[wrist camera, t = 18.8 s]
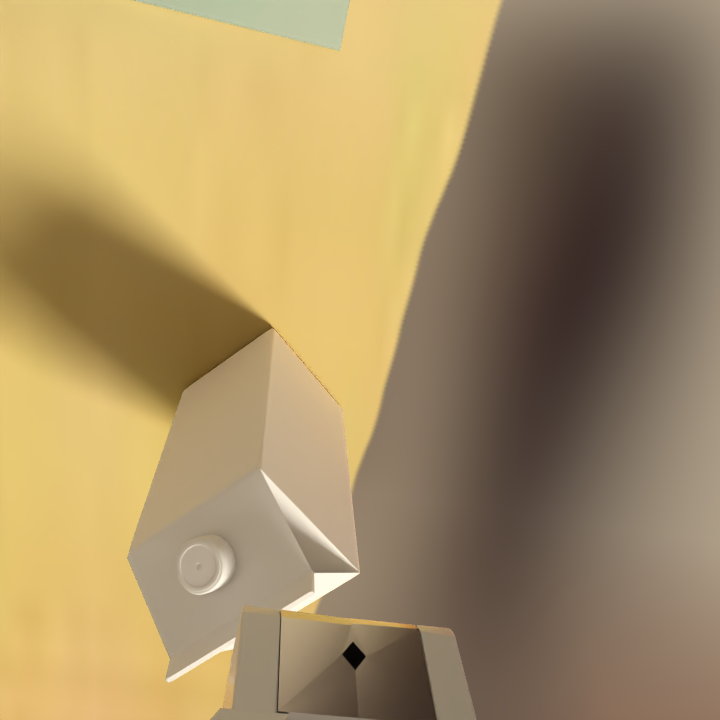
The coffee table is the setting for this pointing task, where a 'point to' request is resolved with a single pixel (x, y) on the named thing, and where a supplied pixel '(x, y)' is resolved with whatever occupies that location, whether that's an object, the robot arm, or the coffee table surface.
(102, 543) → the coffee table surface
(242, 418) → the milk carton
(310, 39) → the runner mat
